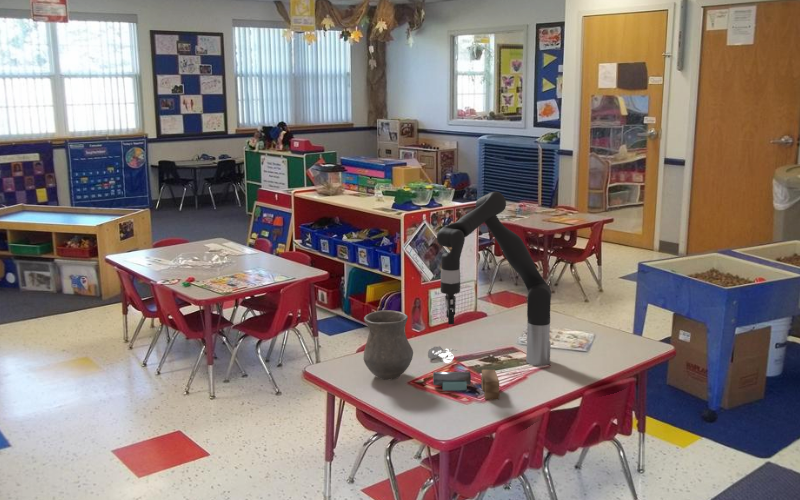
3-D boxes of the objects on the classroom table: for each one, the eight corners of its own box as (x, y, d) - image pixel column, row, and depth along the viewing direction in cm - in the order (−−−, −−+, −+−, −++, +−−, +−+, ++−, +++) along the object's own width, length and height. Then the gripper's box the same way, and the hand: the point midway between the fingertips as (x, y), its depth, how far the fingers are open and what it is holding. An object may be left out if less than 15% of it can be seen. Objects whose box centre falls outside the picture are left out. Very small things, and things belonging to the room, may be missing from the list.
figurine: (440, 344, 332) (459, 346, 322) (441, 359, 332) (460, 361, 323) (424, 347, 326) (443, 350, 317) (425, 362, 326) (444, 365, 317)
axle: (469, 377, 300) (469, 369, 296) (470, 386, 296) (471, 379, 293) (433, 377, 299) (433, 369, 296) (433, 387, 296) (434, 379, 293)
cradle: (463, 380, 303) (464, 373, 302) (466, 390, 293) (466, 382, 293) (441, 380, 303) (441, 373, 302) (442, 390, 293) (442, 383, 293)
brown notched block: (494, 386, 296) (494, 369, 295) (498, 399, 285) (499, 381, 283) (481, 386, 296) (481, 369, 295) (485, 399, 285) (485, 381, 283)
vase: (402, 388, 295) (402, 326, 290) (356, 382, 302) (355, 321, 296) (419, 370, 313) (419, 311, 308) (375, 365, 320) (374, 307, 314)
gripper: (439, 275, 302) (439, 315, 306) (441, 285, 288) (441, 326, 292) (458, 275, 302) (458, 315, 306) (462, 284, 288) (461, 326, 292)
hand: (450, 320), depth 299 cm, fingers open, 8 cm apart
